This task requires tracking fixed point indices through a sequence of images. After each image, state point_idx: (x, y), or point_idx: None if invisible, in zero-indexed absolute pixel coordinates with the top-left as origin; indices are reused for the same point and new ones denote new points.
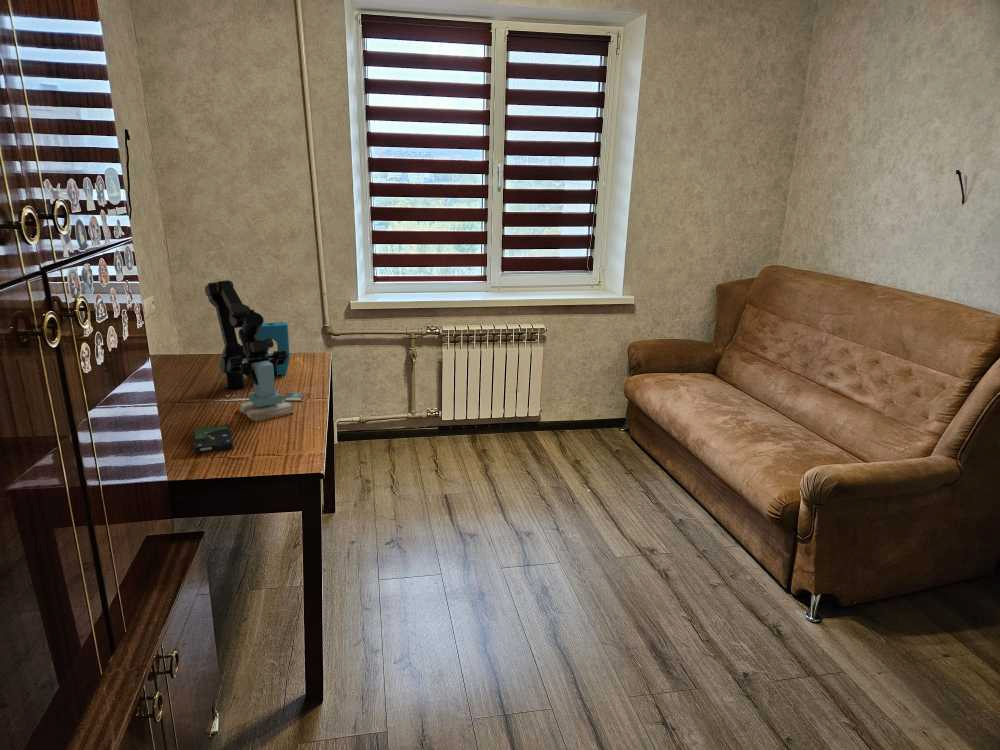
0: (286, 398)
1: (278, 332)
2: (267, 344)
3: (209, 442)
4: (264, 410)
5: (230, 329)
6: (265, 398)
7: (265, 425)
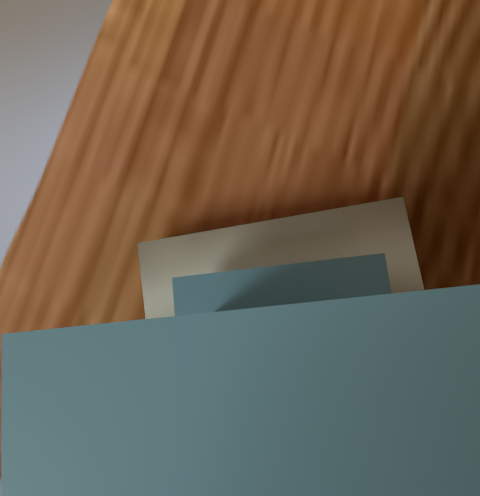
0: None
1: None
2: None
3: None
4: (323, 248)
5: None
6: (311, 261)
7: (344, 135)
